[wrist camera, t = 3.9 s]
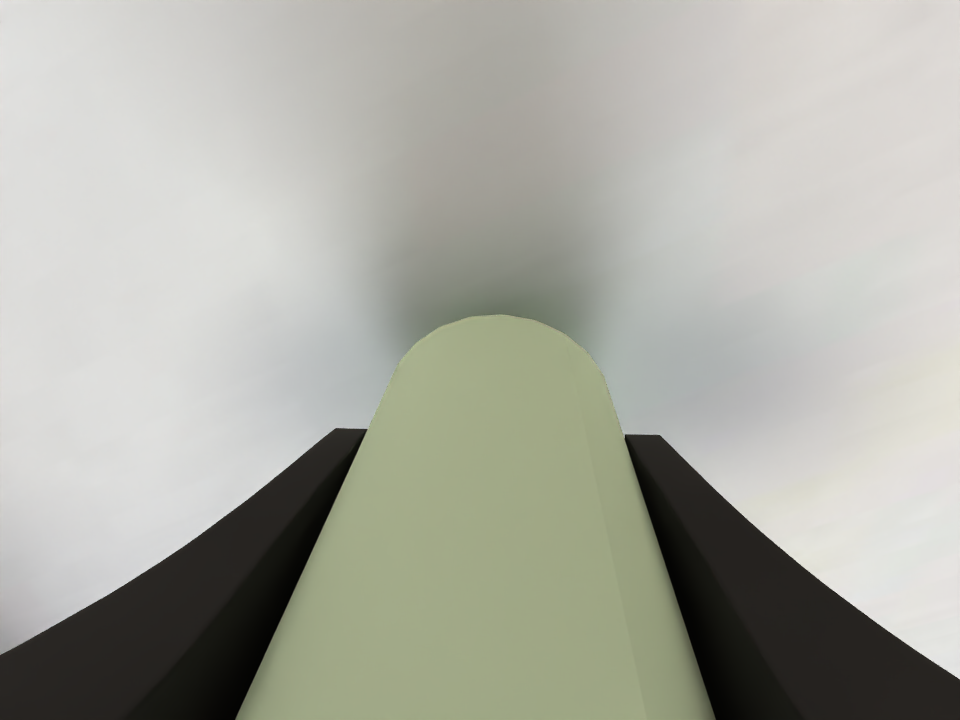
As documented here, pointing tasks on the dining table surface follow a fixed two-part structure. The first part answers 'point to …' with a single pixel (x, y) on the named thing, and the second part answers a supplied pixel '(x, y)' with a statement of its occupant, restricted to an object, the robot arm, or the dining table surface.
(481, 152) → the dining table surface
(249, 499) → the robot arm
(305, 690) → the candle
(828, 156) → the dining table surface
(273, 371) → the dining table surface
